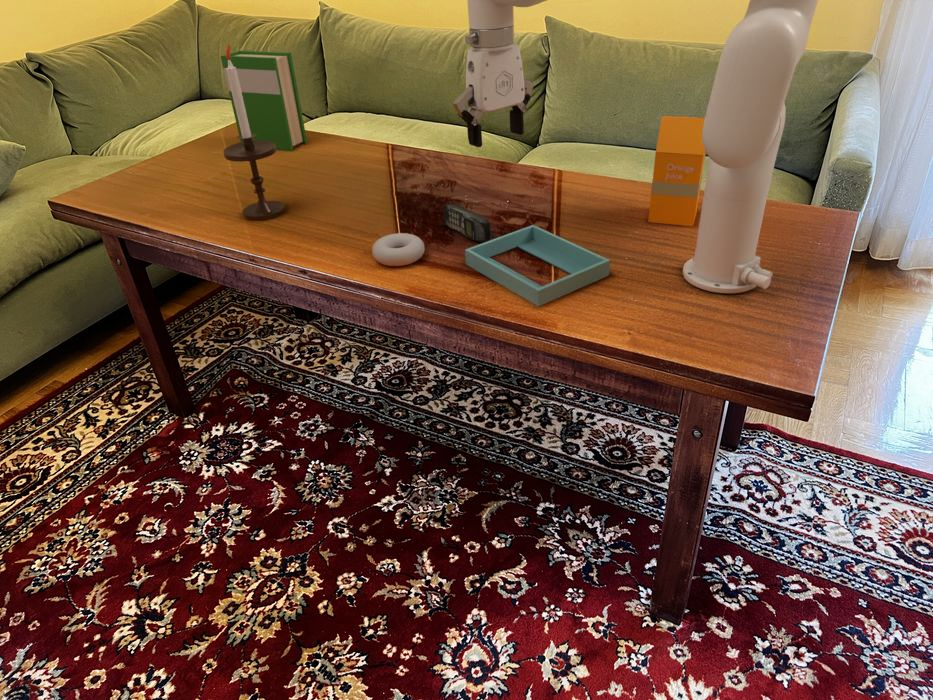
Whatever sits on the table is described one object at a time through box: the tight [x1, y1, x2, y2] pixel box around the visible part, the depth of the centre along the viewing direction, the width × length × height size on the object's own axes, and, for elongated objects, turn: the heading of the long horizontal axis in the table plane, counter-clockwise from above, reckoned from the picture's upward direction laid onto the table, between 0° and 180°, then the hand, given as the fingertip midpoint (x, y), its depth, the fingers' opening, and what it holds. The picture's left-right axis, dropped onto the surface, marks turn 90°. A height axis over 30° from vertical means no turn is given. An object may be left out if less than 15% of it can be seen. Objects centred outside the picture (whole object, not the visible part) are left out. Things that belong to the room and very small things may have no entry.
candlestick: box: [222, 43, 286, 221], centre depth 141 cm, size 11×11×35 cm
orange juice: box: [647, 115, 707, 227], centre depth 132 cm, size 8×9×20 cm
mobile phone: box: [442, 203, 493, 243], centre depth 134 cm, size 5×3×15 cm
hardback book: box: [220, 50, 308, 152], centre depth 187 cm, size 18×7×24 cm, turn 65°
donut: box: [371, 232, 426, 267], centre depth 128 cm, size 10×4×10 cm
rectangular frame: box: [464, 224, 611, 307], centre depth 121 cm, size 20×16×3 cm
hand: (496, 139), depth 124 cm, fingers open, 9 cm apart
